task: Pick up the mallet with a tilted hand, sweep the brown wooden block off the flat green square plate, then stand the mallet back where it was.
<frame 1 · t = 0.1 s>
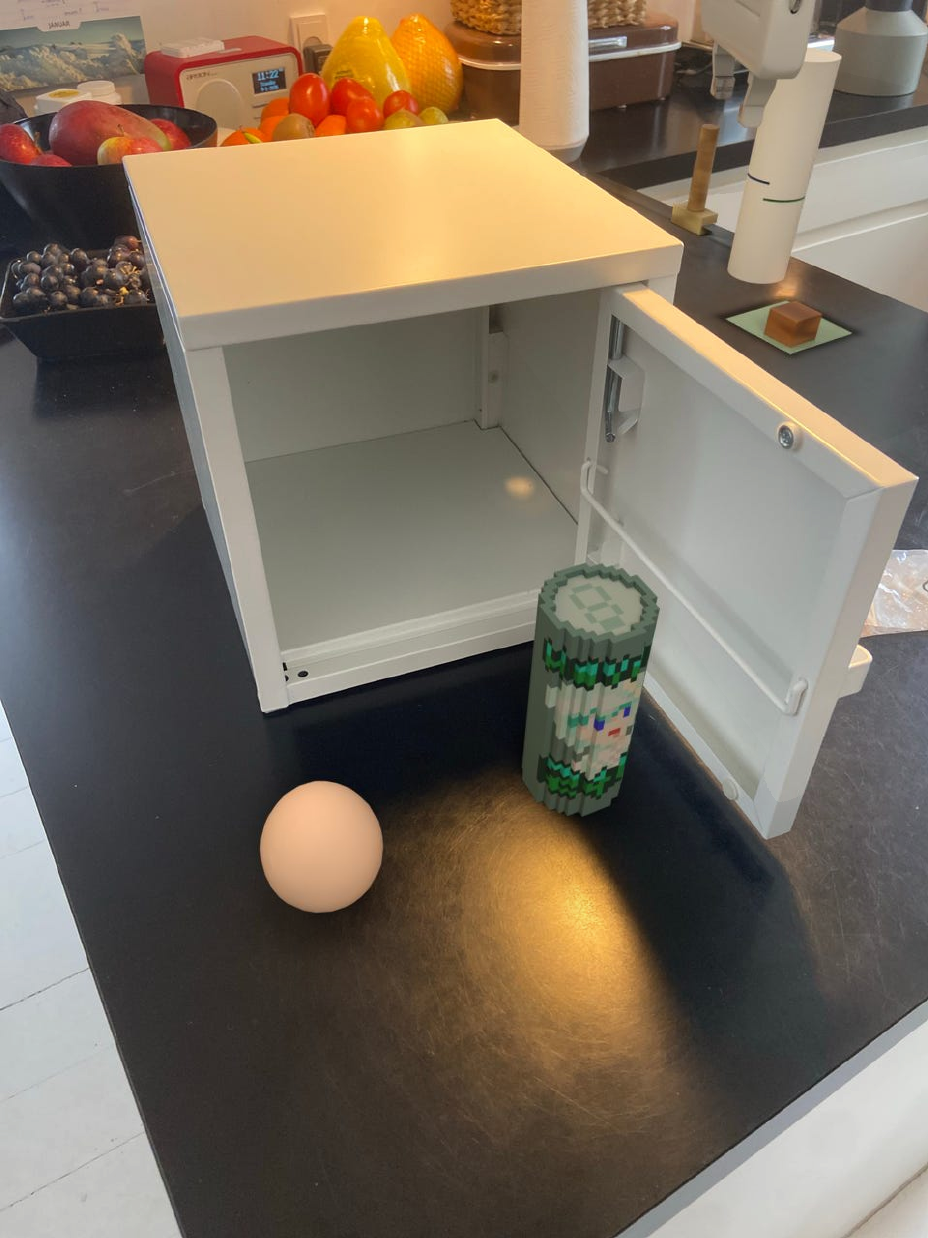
hand: (733, 110, 85), 24 cm above the table, tool pointing down, fingers open, 8 cm apart
brown wooden block: (789, 336, 102), point 1 cm above the table, touching flat green square plate
cylindrical container: (753, 282, 116), on the table
flat green square plate: (785, 335, 105), on the table
mallet: (692, 226, 130), on the table
can: (570, 776, 59), on the table
egg: (328, 885, 53), on the table
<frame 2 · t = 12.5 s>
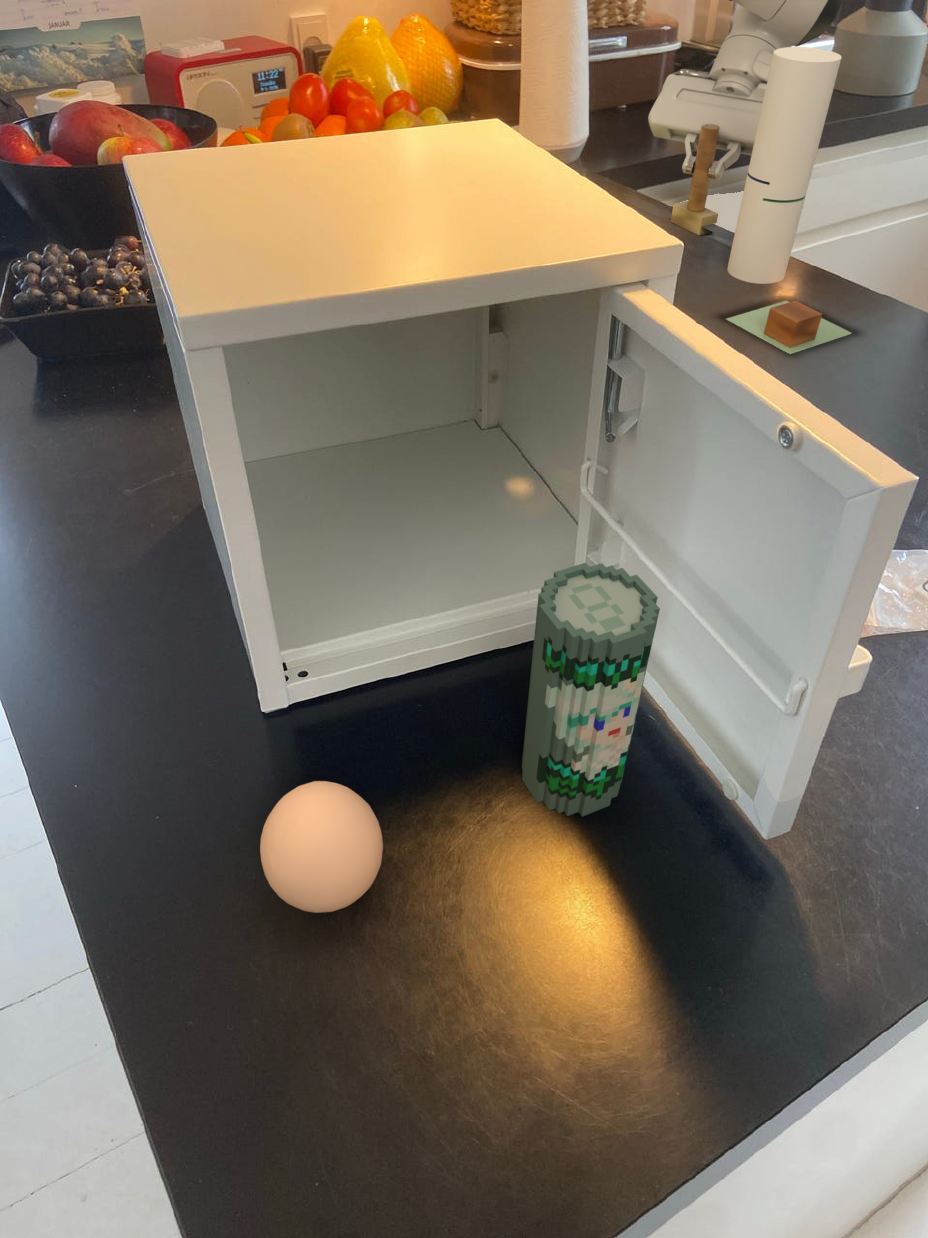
hand: (700, 174, 124), 7 cm above the table, tool tilted 45°, fingers closed on mallet, 2 cm apart
mallet: (692, 226, 130), on the table, touching gripper
everything else where it was.
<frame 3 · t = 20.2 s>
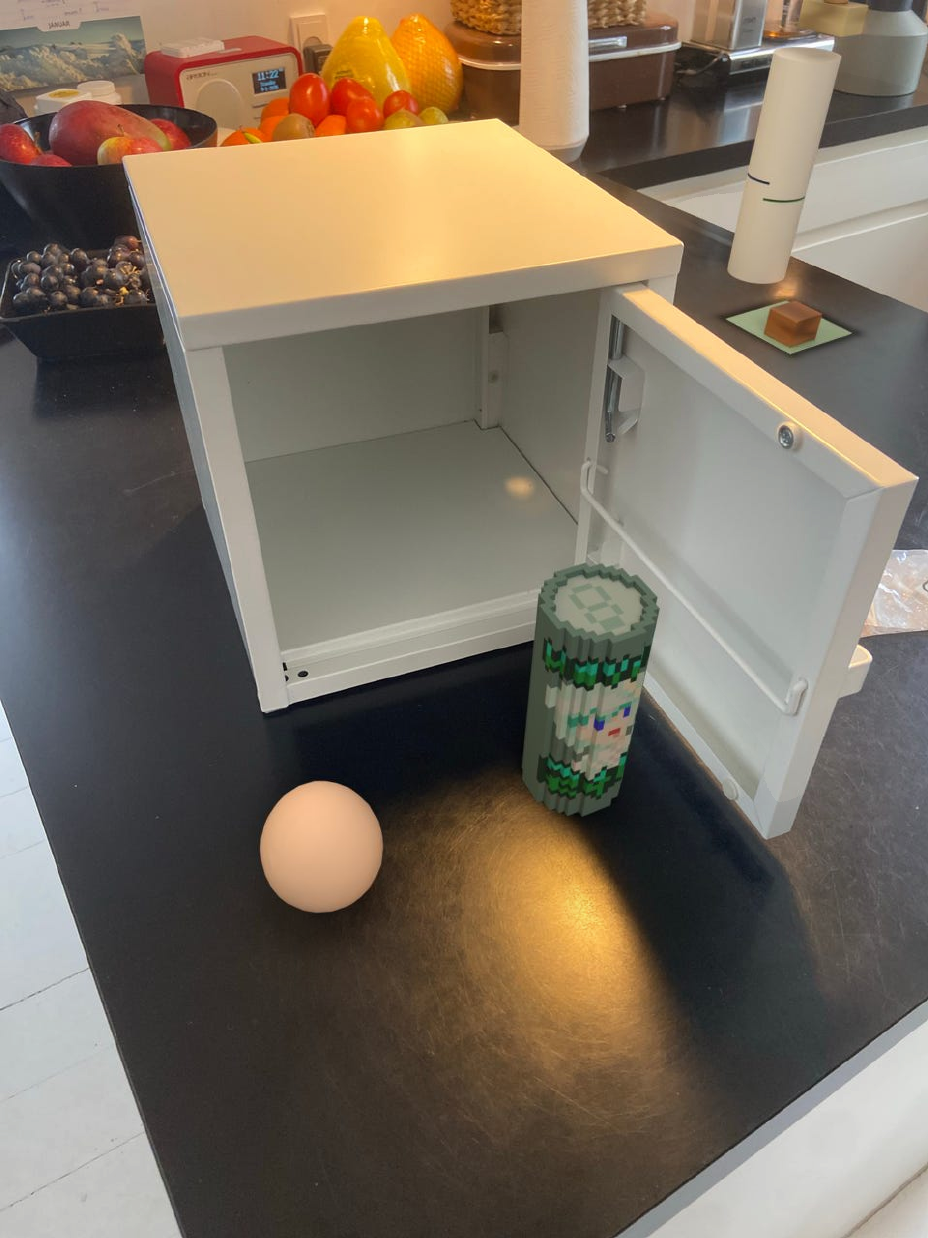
mallet: (828, 30, 95), point 28 cm above the table, touching gripper
everything else where it was.
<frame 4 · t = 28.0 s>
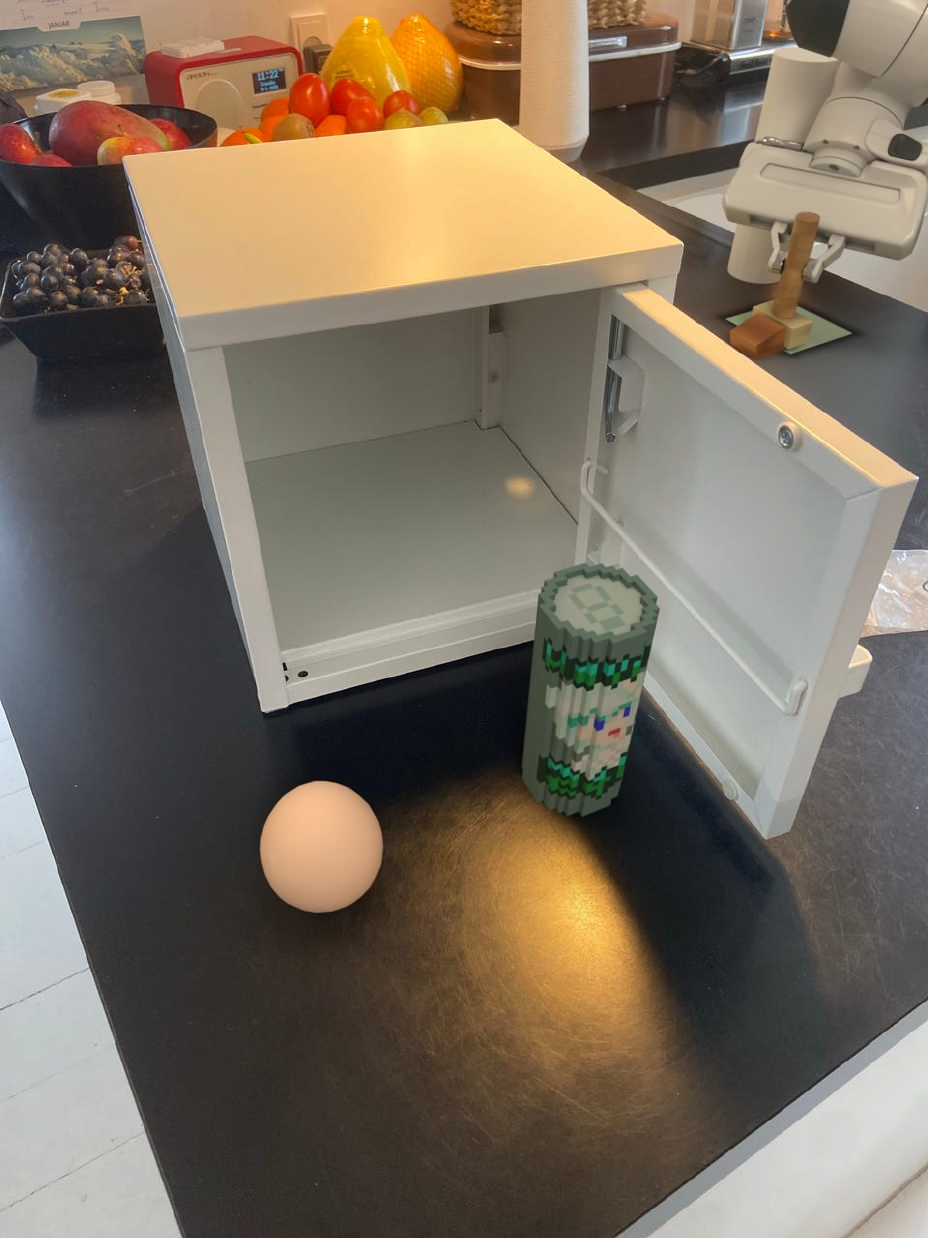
hand: (791, 274, 96), 9 cm above the table, tool tilted 45°, fingers closed on mallet, 2 cm apart
brown wooden block: (756, 351, 101), point 1 cm above the table, tilted 18°
mallet: (777, 334, 102), point 2 cm above the table, touching gripper
everything else where it was.
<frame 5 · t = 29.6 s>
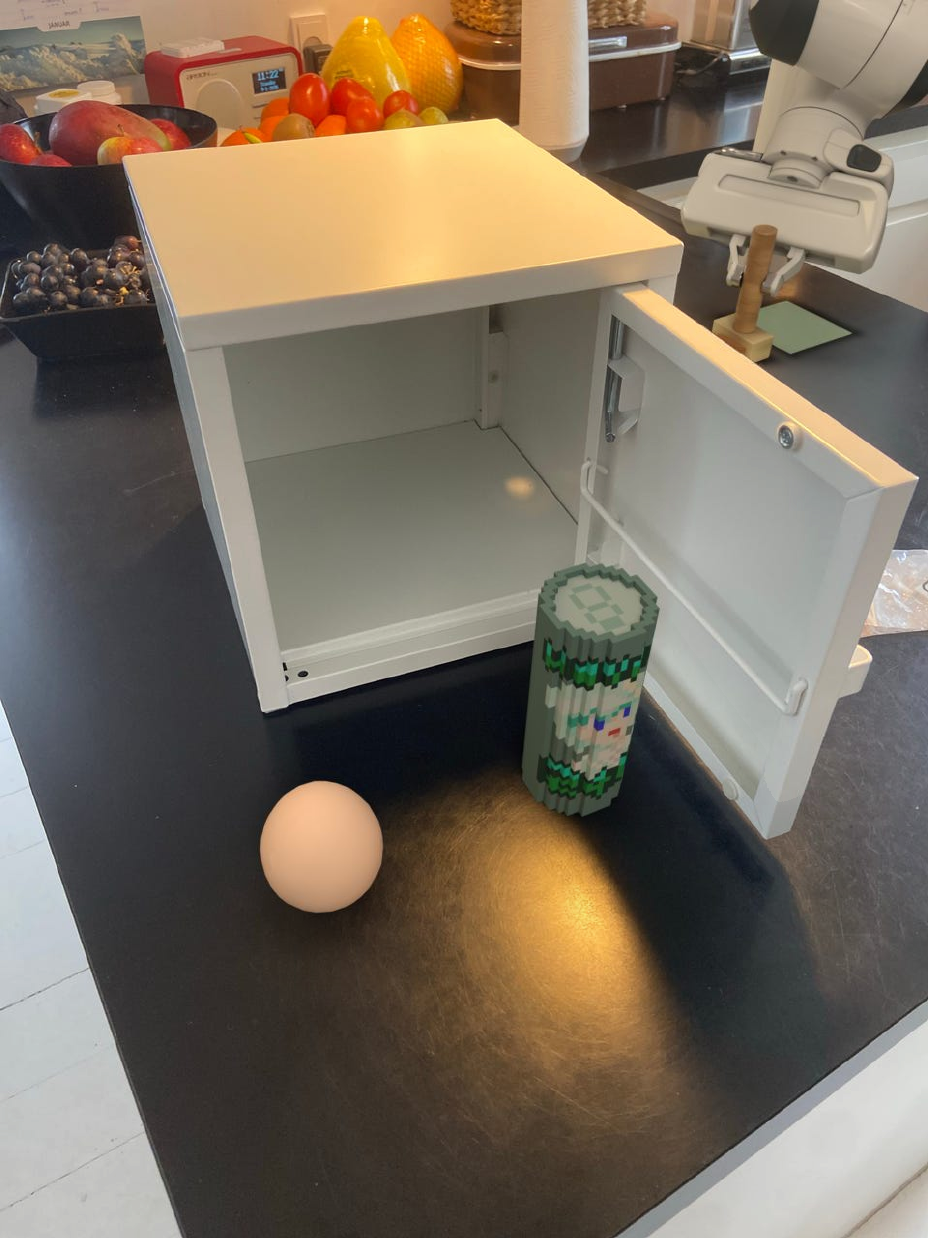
hand: (750, 288, 94), 9 cm above the table, tool tilted 45°, fingers closed on mallet, 2 cm apart
brown wooden block: (713, 370, 99), on the table
mallet: (739, 349, 99), point 1 cm above the table, touching gripper
everything else where it was.
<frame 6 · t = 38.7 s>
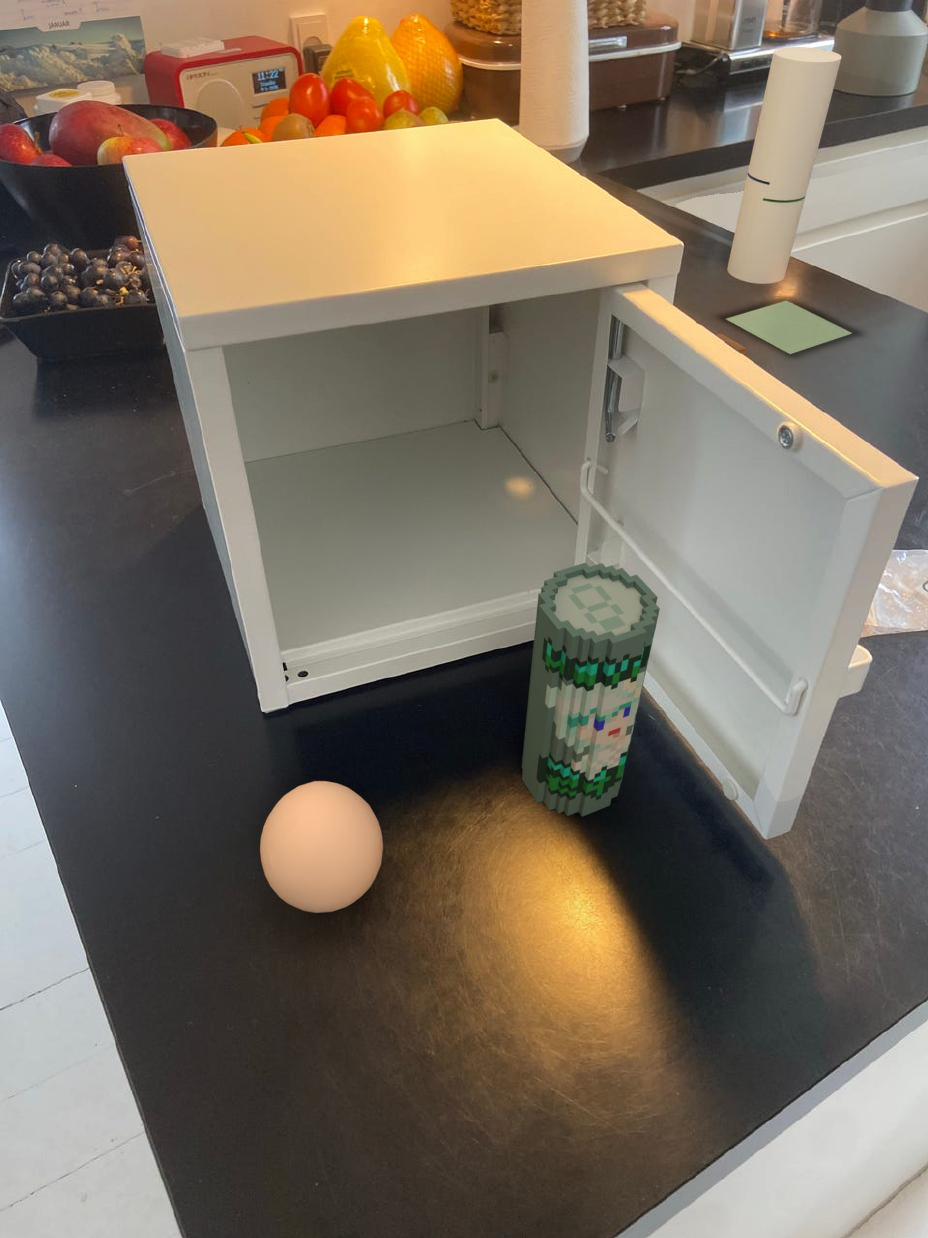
when the fingers open (7 cm above the table, at t = 46.9 s): mallet stays where it is, on the table.
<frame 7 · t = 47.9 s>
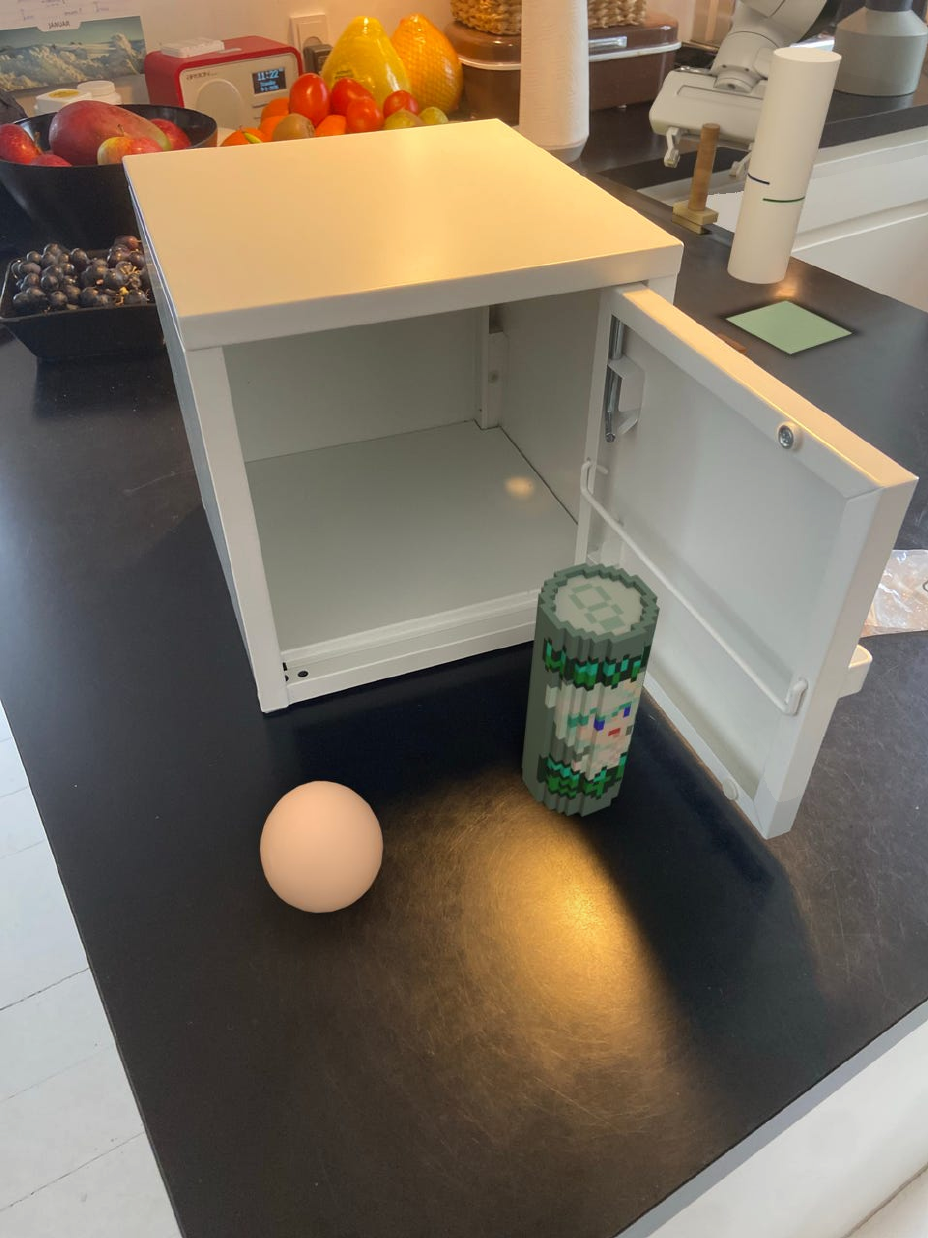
hand: (701, 171, 124), 8 cm above the table, tool tilted 45°, fingers open, 8 cm apart
mallet: (693, 225, 130), on the table
everything else where it was.
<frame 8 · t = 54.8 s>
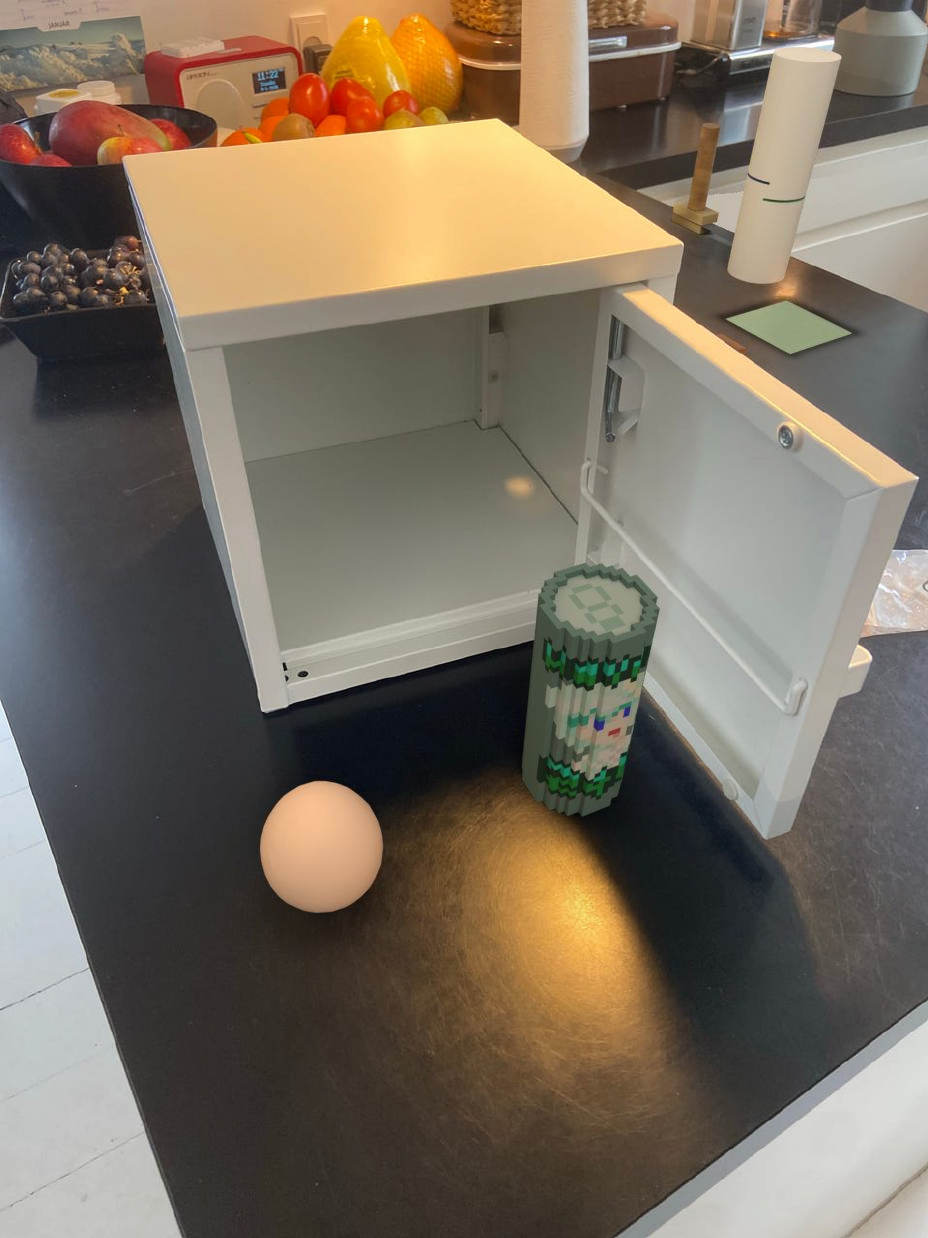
nothing on the table moved.
at the end: brown wooden block touching table; brown wooden block on the table; mallet tilted 0° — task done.
